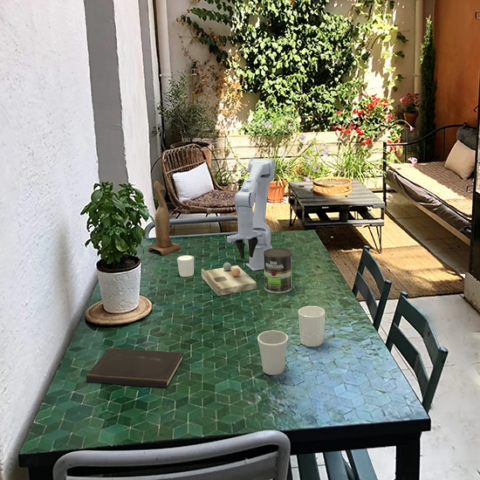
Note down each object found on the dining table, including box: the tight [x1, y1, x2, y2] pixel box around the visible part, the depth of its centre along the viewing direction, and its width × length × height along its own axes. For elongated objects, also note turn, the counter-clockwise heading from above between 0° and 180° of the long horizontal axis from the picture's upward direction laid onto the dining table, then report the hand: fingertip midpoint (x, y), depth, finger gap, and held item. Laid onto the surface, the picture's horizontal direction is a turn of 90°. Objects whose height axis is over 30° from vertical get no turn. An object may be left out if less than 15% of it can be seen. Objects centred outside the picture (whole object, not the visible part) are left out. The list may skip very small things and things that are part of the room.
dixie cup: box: [257, 330, 289, 376], centre depth 160 cm, size 8×8×10 cm
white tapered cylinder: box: [176, 254, 195, 278], centre depth 232 cm, size 7×7×7 cm
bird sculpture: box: [147, 180, 182, 256], centre depth 258 cm, size 11×12×32 cm
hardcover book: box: [85, 347, 184, 389], centre depth 164 cm, size 16×23×2 cm
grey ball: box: [222, 262, 232, 271], centre depth 228 cm, size 3×3×3 cm
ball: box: [232, 268, 240, 277], centre depth 222 cm, size 3×3×3 cm
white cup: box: [297, 305, 326, 348], centre depth 174 cm, size 8×8×10 cm
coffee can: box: [263, 247, 293, 294], centre depth 214 cm, size 10×10×14 cm
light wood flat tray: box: [200, 264, 257, 297], centre depth 222 cm, size 15×20×4 cm
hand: (246, 257), depth 221 cm, fingers open, 3 cm apart
